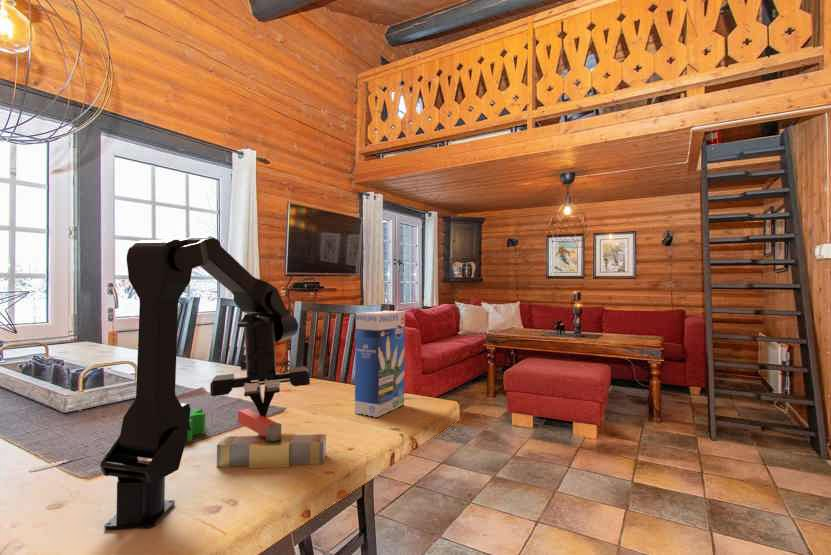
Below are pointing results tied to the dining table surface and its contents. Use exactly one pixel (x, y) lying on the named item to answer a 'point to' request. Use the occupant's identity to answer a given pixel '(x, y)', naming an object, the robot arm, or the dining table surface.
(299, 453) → the block
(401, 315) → the string lights box
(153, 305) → the robot arm
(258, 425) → the lever
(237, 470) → the dining table surface
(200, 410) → the pipe clamp
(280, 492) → the dining table surface
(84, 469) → the dining table surface
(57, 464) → the butter knife
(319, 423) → the dining table surface
